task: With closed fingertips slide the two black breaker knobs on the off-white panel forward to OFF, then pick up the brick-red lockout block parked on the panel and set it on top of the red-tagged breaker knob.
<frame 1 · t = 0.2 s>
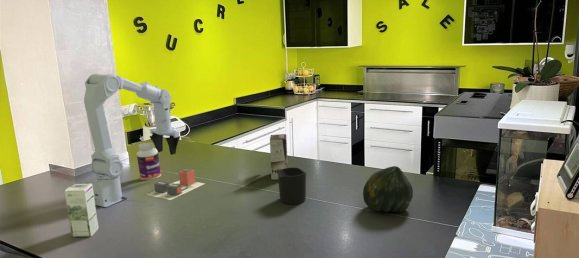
hand: (166, 152, 172), 10 cm above the countertop, tool pointing down, fingers open, 7 cm apart
breaker a: (161, 187, 155), point 3 cm above the countertop, slide at 0.0 cm
pill bottle: (151, 178, 173), on the countertop, touching gripper
squash: (387, 209, 136), on the countertop
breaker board: (176, 192, 157), on the countertop
syrup box: (85, 233, 126), on the countertop
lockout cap: (187, 183, 162), point 1 cm above the countertop, touching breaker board
breaker b: (174, 189, 152), point 3 cm above the countertop, slide at 0.0 cm
pen holder: (292, 200, 146), on the countertop
coffee box: (279, 176, 171), on the countertop
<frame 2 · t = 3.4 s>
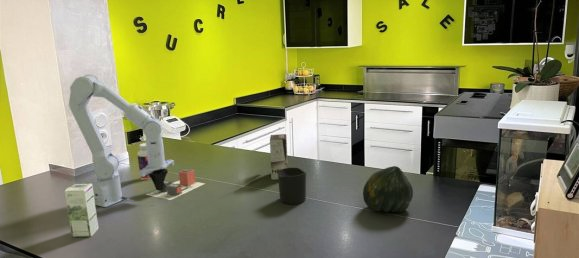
hand: (159, 189, 154), 2 cm above the countertop, tool pointing down, fingers closed
breaker a: (164, 185, 156), point 3 cm above the countertop, slide at 1.5 cm, touching gripper
pill bottle: (151, 179, 173), on the countertop
everything else where it was.
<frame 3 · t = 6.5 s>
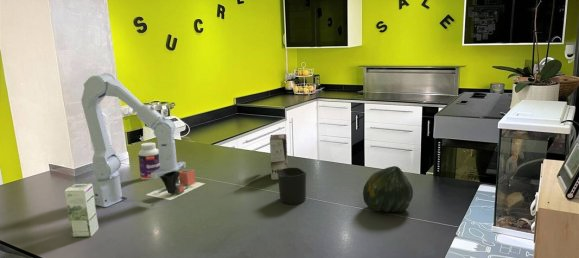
hand: (171, 192, 151), 2 cm above the countertop, tool pointing down, fingers closed
breaker a: (171, 182, 159), point 3 cm above the countertop, slide at 5.0 cm
breaker b: (177, 188, 153), point 3 cm above the countertop, slide at 1.2 cm, touching gripper
everything else where it was.
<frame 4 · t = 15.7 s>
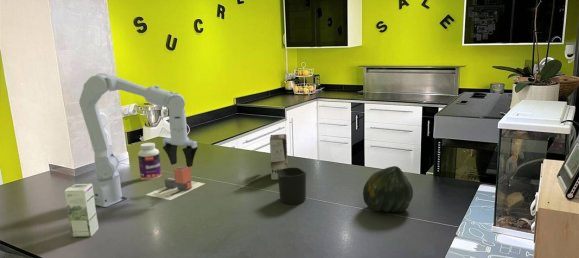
hand: (181, 165, 154), 10 cm above the countertop, tool pointing down, fingers open, 7 cm apart
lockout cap: (183, 181, 156), point 4 cm above the countertop, touching breaker b
breaker b: (184, 185, 156), point 3 cm above the countertop, slide at 5.1 cm, touching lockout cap
everything else where it was.
at the end: breaker a slide at 5.0 cm; breaker b slide at 5.1 cm; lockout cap 0.2 cm off-centre on the breaker b, point 4.4 cm above the breaker b's base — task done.
